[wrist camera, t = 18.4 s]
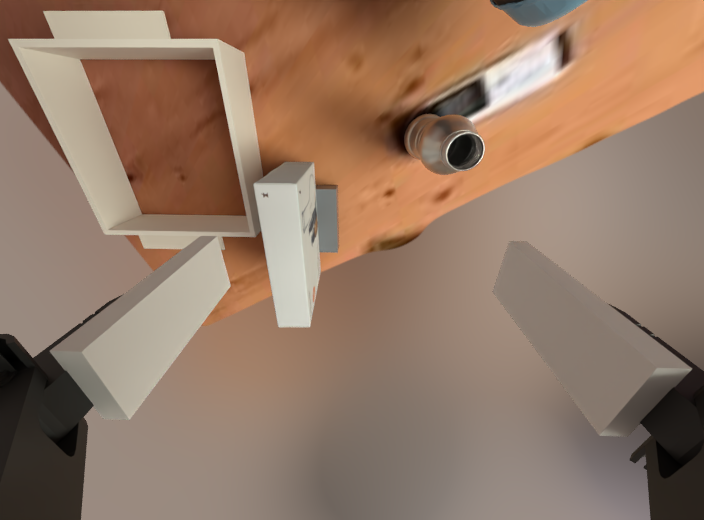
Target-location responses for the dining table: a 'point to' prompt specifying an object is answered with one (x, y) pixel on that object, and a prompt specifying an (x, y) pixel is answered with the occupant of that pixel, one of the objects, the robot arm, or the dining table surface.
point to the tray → (93, 135)
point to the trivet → (327, 217)
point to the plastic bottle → (444, 143)
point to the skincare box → (290, 239)
